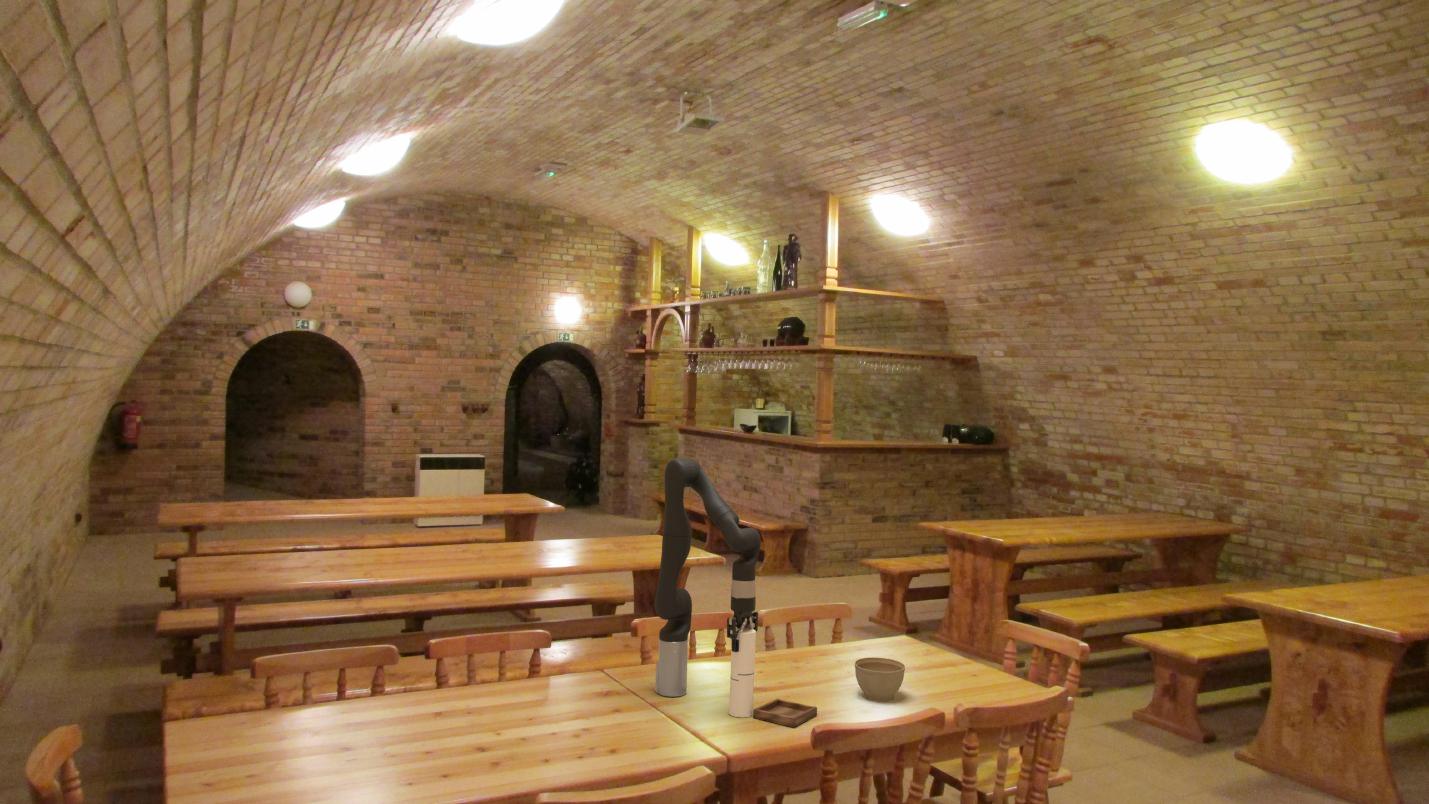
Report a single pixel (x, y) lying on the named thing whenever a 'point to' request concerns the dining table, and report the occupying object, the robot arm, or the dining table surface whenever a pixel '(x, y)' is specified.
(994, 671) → the dining table surface
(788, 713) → the walnut tray
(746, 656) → the cylindrical container
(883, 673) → the planter bowl
